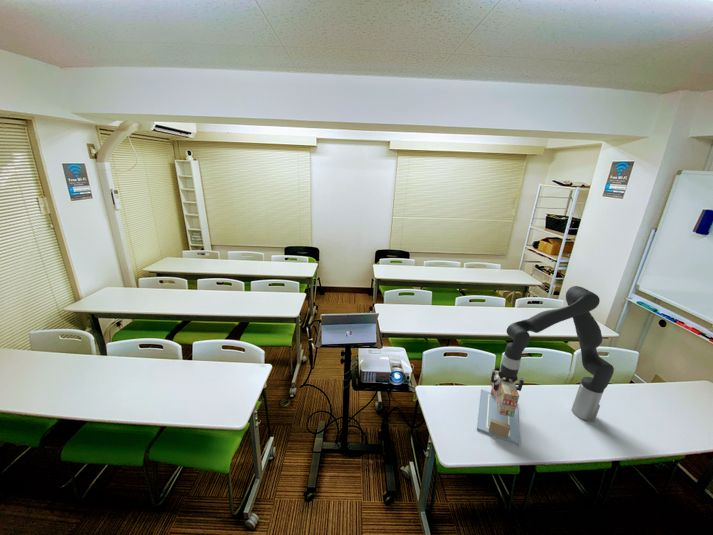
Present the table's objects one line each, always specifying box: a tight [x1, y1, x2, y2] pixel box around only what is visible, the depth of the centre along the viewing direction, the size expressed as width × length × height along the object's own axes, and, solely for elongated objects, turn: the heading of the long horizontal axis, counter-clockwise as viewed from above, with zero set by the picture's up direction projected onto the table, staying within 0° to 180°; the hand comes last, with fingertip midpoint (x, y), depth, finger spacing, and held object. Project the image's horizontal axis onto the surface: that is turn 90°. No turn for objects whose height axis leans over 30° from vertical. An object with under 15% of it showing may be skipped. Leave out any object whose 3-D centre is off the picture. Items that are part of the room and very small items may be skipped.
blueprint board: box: [476, 388, 521, 447], centre depth 146 cm, size 18×30×7 cm, turn 154°
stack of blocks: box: [490, 370, 520, 417], centre depth 143 cm, size 21×6×12 cm, turn 166°
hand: (503, 392), depth 143 cm, fingers closed on stack of blocks, 7 cm apart
